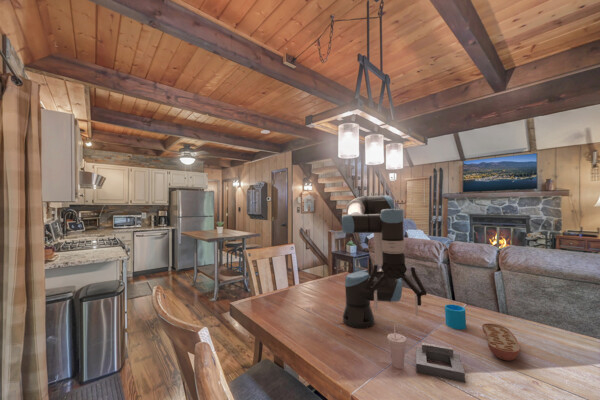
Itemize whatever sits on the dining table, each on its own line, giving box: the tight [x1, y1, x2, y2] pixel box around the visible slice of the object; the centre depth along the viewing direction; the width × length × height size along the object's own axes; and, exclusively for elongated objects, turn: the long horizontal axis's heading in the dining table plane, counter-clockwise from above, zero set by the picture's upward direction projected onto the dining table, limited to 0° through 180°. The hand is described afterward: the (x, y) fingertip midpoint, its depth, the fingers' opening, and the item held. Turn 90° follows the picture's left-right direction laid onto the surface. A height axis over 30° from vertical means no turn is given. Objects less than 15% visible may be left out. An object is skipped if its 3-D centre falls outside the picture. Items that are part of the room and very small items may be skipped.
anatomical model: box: [481, 323, 520, 361], centre depth 99 cm, size 23×10×5 cm, turn 151°
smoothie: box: [386, 324, 408, 369], centre depth 91 cm, size 6×6×14 cm
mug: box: [444, 304, 467, 330], centre depth 121 cm, size 12×8×8 cm
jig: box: [415, 342, 466, 384], centre depth 89 cm, size 14×11×5 cm
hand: (395, 312), depth 91 cm, fingers open, 13 cm apart
